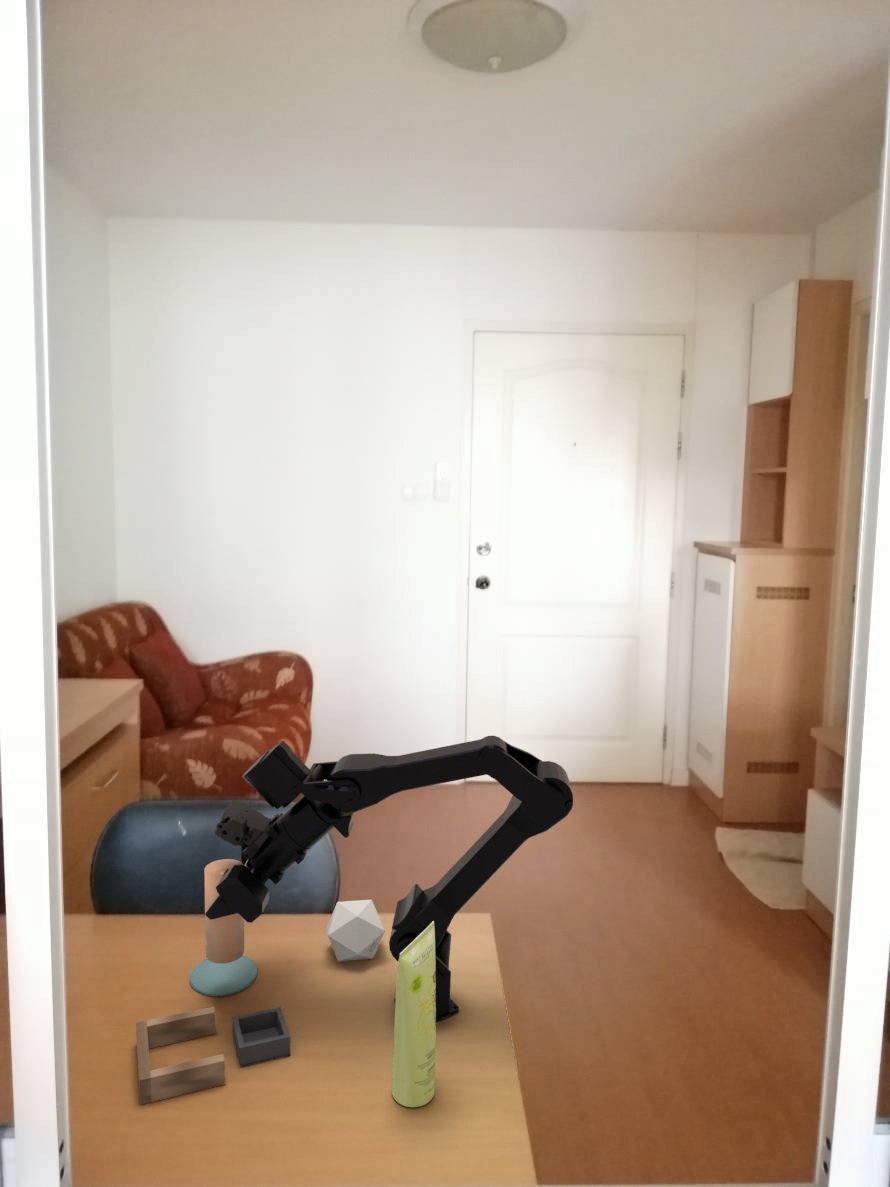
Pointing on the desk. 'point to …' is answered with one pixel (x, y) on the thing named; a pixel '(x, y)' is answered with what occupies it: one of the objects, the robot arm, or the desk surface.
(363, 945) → the die
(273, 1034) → the tray
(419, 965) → the tube
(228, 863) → the canister
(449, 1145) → the desk surface
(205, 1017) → the channel
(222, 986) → the pad
